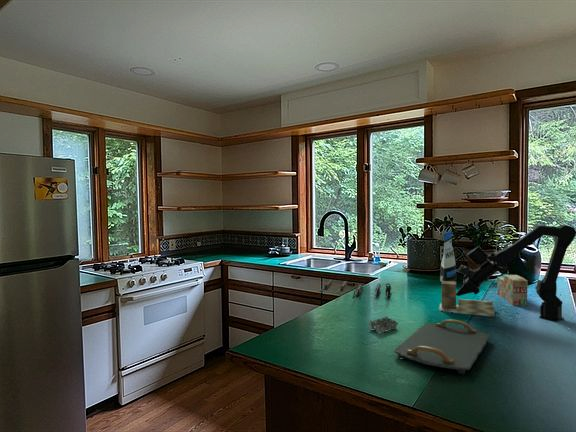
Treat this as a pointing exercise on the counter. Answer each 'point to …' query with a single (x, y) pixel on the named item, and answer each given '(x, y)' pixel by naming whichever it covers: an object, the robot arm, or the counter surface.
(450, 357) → the serving board
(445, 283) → the walnut block
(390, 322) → the bumpy grey rock
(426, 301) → the counter surface
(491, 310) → the chute
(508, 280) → the stack of blocks
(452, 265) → the protein powder
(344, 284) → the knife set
